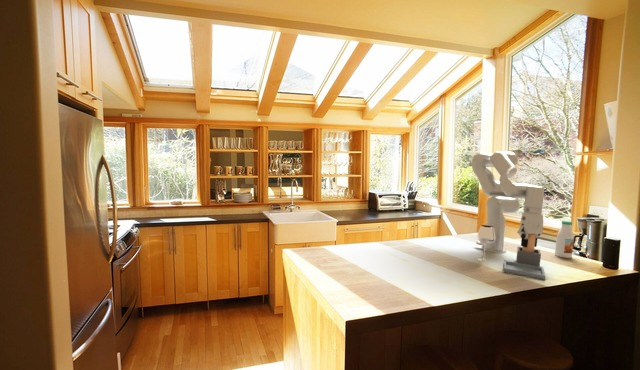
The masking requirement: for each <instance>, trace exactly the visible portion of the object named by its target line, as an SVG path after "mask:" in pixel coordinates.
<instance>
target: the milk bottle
mask: <svg viewBox="0 0 640 370" xmlns="http://www.w3.org/2000/svg"><path fill="white" fill-rule="evenodd" d="M572 226H573V221H570V220H562V221H561V227H560V229H559V231H558V232H557V234H556V235H557V236H556V241H555V249H554V254H555V256H557V257H560V258H565V259H572V257H573V251H574V250H573V249H574V243H575V242H574V241H575V235H574V232H573V230H572Z"/></svg>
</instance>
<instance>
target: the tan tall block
mask: <svg viewBox="0 0 640 370" xmlns="http://www.w3.org/2000/svg"><path fill="white" fill-rule="evenodd" d="M525 233H526V232H525ZM524 235H526V234H524ZM527 239H528V244H527V247H523V246H521V247H522V251H525V252H531V253H534V249H535V248H536V247H535V239H536V234H529V235H528V237H527Z"/></svg>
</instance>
